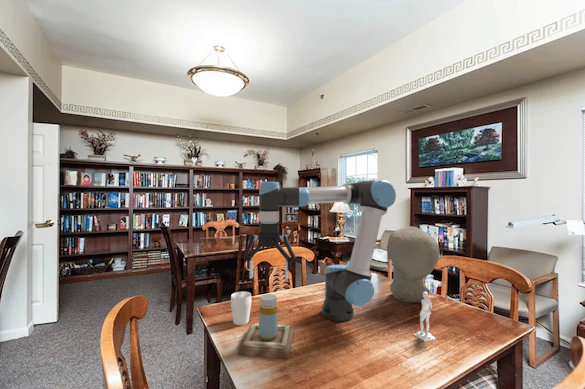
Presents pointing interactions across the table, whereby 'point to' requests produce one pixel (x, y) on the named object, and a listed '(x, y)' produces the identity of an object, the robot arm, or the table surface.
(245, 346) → the plinth
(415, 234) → the bust
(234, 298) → the cup
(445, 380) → the table surface
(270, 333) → the bottle
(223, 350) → the table surface
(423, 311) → the figurine
